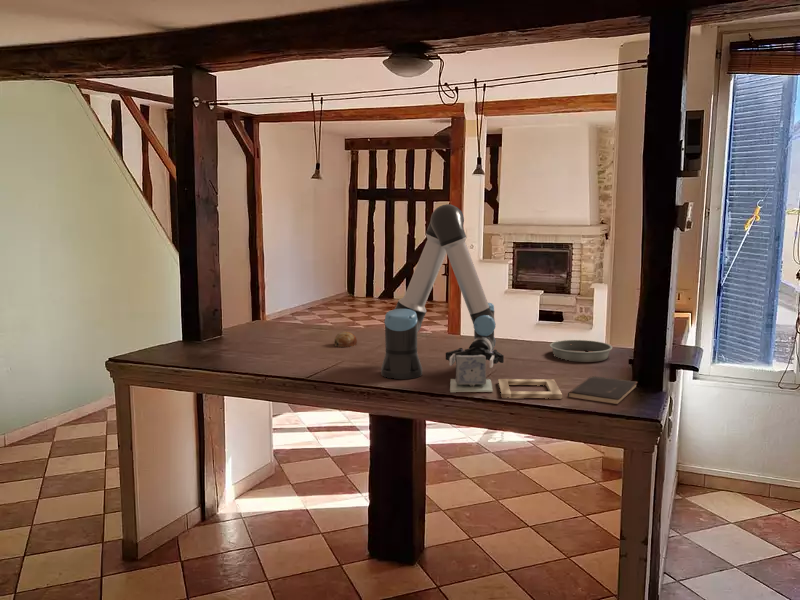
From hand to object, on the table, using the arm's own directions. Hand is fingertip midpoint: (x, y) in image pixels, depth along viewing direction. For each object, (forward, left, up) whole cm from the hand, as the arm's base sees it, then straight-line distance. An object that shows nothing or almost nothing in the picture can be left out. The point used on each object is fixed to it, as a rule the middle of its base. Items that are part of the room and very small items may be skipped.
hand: (470, 362), depth 222 cm
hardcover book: (+43, -2, -10) cm, 44 cm away
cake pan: (+45, +50, -9) cm, 68 cm away
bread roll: (-54, +69, -9) cm, 88 cm away
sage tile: (0, +2, -9) cm, 9 cm away
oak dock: (+19, -2, -9) cm, 21 cm away
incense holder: (0, +2, -8) cm, 8 cm away
